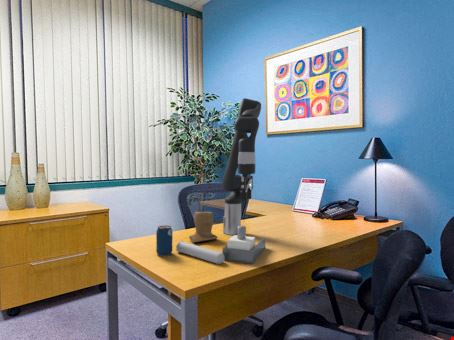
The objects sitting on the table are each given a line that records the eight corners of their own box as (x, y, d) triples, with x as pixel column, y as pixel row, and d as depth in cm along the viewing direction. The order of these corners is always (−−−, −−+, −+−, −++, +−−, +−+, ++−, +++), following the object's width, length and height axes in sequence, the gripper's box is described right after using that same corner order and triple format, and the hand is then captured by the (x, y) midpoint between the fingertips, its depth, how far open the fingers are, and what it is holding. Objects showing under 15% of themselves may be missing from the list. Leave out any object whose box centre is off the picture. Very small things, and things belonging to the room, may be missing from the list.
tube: (228, 253, 126) (186, 241, 141) (220, 252, 122) (177, 239, 137) (225, 266, 124) (183, 253, 140) (217, 265, 120) (174, 251, 136)
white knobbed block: (227, 256, 129) (227, 227, 128) (233, 250, 137) (234, 223, 137) (249, 259, 126) (249, 229, 125) (254, 253, 134) (255, 225, 134)
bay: (222, 260, 128) (222, 248, 128) (239, 244, 151) (239, 234, 151) (252, 264, 124) (252, 251, 124) (265, 247, 146) (265, 237, 146)
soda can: (175, 253, 135) (175, 226, 135) (162, 257, 130) (162, 229, 130) (165, 250, 140) (166, 224, 139) (153, 253, 135) (153, 226, 134)
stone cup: (208, 235, 168) (208, 208, 167) (220, 240, 158) (220, 211, 158) (183, 239, 159) (183, 210, 158) (194, 245, 149) (195, 214, 149)
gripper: (242, 163, 141) (242, 198, 141) (233, 162, 128) (233, 201, 128) (258, 163, 139) (258, 198, 139) (251, 162, 125) (251, 202, 126)
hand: (246, 200), depth 134 cm, fingers open, 8 cm apart
